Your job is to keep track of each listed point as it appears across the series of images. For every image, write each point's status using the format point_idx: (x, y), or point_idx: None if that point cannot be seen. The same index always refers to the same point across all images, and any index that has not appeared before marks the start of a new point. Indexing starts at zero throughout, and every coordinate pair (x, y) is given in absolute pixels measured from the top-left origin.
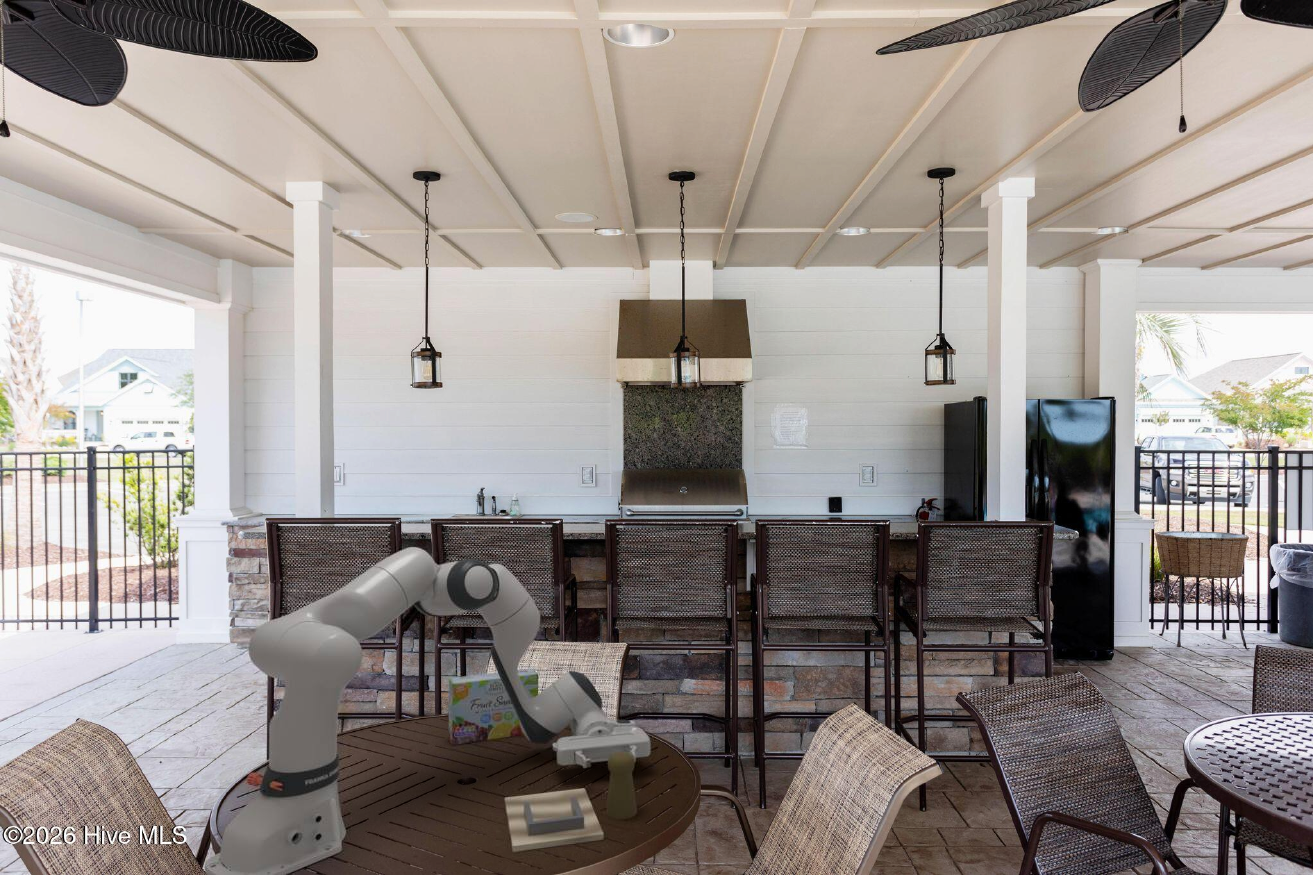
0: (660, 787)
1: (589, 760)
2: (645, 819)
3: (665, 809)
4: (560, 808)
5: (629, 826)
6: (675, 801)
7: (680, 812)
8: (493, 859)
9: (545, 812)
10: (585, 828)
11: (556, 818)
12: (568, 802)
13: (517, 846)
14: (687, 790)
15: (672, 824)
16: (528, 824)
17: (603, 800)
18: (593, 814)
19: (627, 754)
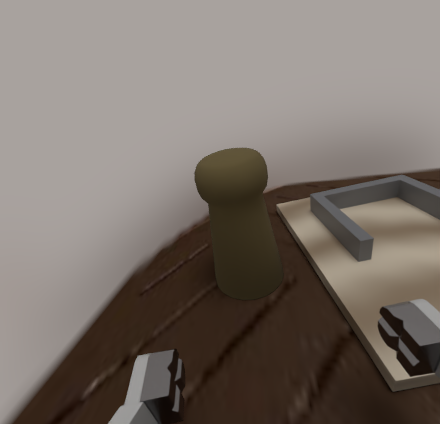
0: (103, 411)
1: (387, 305)
2: (207, 253)
3: (159, 282)
4: (398, 255)
5: None
6: (121, 312)
7: (139, 272)
8: (420, 175)
9: (427, 241)
10: (308, 210)
11: (360, 187)
12: (395, 280)
13: None
14: (49, 374)
15: (170, 243)
16: (402, 175)
17: (299, 327)
18: (304, 239)
19: (209, 156)
